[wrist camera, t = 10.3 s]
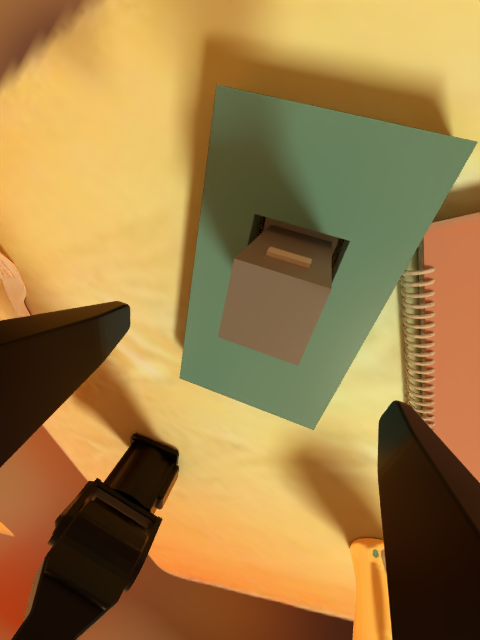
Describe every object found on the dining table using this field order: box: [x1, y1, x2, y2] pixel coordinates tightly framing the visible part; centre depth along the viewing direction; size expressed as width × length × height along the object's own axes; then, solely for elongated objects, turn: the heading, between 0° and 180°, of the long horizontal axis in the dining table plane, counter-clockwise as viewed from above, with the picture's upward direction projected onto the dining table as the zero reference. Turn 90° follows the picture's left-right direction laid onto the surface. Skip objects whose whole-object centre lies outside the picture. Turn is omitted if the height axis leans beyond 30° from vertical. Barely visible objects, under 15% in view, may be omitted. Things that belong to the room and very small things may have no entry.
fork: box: [0, 253, 31, 317], centre depth 30 cm, size 3×20×2 cm, turn 5°
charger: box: [218, 225, 332, 366], centre depth 15 cm, size 4×4×8 cm
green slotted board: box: [180, 85, 477, 430], centre depth 19 cm, size 12×20×2 cm, turn 168°
